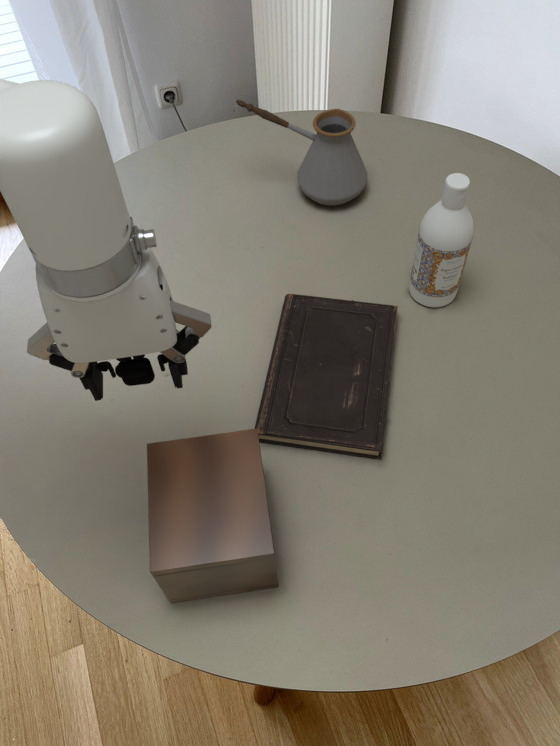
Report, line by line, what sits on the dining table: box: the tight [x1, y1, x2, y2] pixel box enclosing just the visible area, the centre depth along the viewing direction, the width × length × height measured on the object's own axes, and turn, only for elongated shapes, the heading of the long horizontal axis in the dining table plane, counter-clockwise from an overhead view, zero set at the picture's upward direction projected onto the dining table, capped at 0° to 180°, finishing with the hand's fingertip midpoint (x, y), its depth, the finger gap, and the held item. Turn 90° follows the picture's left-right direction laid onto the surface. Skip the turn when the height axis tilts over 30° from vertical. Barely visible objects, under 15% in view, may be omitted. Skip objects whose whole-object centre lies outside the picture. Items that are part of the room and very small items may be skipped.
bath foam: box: [408, 172, 475, 308], centre depth 87 cm, size 7×7×20 cm
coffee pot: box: [232, 99, 369, 207], centre depth 103 cm, size 21×12×15 cm, turn 77°
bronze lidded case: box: [146, 428, 279, 604], centre depth 71 cm, size 12×14×11 cm
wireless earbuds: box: [96, 353, 168, 387], centre depth 62 cm, size 7×2×5 cm, turn 97°
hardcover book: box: [253, 293, 399, 460], centre depth 86 cm, size 16×23×2 cm
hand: (138, 381), depth 64 cm, fingers closed on wireless earbuds, 7 cm apart
